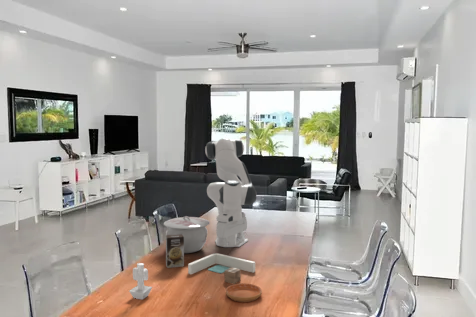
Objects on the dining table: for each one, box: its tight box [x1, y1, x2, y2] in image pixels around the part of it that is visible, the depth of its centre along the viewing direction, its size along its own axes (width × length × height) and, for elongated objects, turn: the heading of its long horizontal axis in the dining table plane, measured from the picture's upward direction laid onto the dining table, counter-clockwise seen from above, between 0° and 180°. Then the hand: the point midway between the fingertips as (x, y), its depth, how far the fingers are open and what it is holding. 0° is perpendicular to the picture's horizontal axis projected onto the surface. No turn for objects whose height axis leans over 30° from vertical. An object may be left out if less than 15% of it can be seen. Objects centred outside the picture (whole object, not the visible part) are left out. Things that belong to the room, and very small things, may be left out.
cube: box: [224, 267, 242, 285], centre depth 200 cm, size 6×6×6 cm
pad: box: [206, 264, 231, 274], centre depth 217 cm, size 9×9×1 cm
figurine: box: [128, 262, 153, 300], centre depth 182 cm, size 7×9×15 cm
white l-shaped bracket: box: [187, 252, 256, 275], centre depth 212 cm, size 22×26×5 cm
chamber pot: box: [163, 215, 211, 254], centre depth 249 cm, size 28×28×21 cm
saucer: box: [225, 283, 263, 303], centre depth 184 cm, size 16×16×3 cm
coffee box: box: [165, 234, 185, 269], centre depth 222 cm, size 9×6×16 cm
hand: (232, 243), depth 199 cm, fingers open, 8 cm apart
